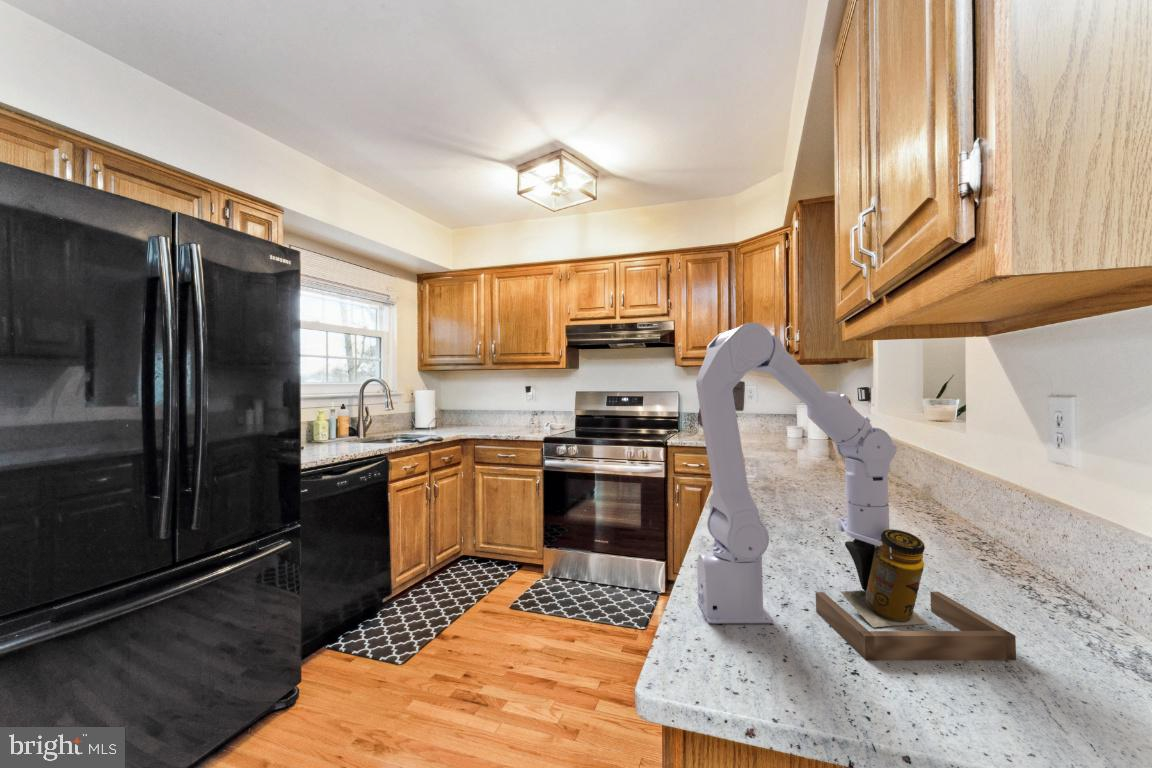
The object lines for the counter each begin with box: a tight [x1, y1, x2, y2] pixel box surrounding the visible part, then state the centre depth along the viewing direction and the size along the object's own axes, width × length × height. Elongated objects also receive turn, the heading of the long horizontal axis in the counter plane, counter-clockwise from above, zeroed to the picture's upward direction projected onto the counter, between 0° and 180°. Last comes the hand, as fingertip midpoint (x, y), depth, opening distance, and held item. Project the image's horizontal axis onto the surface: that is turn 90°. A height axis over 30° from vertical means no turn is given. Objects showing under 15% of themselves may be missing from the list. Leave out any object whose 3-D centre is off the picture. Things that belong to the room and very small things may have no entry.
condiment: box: [840, 528, 928, 628], centre depth 70 cm, size 7×8×12 cm
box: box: [815, 590, 1017, 661], centre depth 66 cm, size 18×13×3 cm
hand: (870, 589), depth 75 cm, fingers closed, pressing on condiment
